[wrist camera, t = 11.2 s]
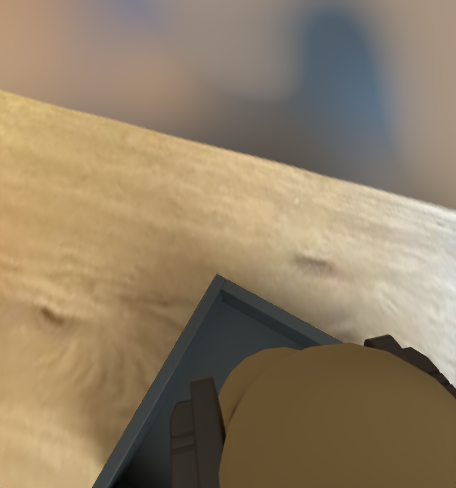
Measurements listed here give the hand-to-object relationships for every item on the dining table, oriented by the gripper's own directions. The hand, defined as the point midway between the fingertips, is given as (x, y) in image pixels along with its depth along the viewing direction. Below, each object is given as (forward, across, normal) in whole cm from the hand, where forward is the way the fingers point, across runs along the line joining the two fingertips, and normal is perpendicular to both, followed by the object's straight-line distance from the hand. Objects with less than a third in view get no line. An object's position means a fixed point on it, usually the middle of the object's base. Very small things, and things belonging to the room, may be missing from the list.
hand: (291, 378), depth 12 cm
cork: (+2, 0, +5) cm, 6 cm away
